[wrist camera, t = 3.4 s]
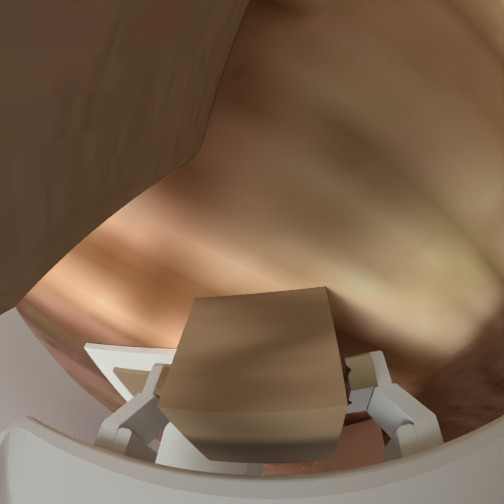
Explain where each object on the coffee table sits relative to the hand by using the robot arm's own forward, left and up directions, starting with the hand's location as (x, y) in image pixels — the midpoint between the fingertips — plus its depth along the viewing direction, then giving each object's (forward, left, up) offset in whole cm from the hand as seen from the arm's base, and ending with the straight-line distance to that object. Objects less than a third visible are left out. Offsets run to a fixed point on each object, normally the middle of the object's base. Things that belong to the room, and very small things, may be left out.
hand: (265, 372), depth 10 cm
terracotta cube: (-5, +13, -2) cm, 14 cm away
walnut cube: (0, 0, -2) cm, 2 cm away
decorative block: (+1, -16, -2) cm, 16 cm away
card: (+7, +4, -2) cm, 8 cm away
